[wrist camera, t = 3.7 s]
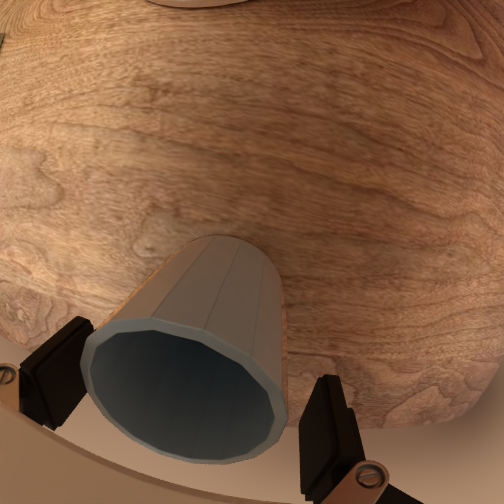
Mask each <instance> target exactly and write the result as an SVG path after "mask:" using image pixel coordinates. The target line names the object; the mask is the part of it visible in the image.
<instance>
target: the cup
mask: <svg viewBox="0 0 504 504" xmlns="http://www.w3.org/2000/svg"><path fill="white" fill-rule="evenodd" d="M80 367H81V371H82V375H83V379H84V383H85V387H86V390H87V392H88V394H89V395H90V397H91V398H92V400H93V401H94V403H95V404H96V406H97V407H98V409H99V410H100V411H101V413H102V414H103V416H105V418H106V419H107V420H108V421H110V422H111V423H112V424H113V425H114V426H115V427H117V428H118V429H119V430H120V431H121V432H122V433H124V434H125V435H126V436H127V437H129V438H130V439H132V440H133V441H135V442H137V443H139V444H141V445H143V446H145V447H146V448H149V449H150V450H153V451H154V452H156V453H159V454H161V455H164V456H167V457H171V458H174V459H178V460H182V461H186V462H190V463H195V464H220V465H225V464H231V463H235V462H239V461H244V460H248V459H252V458H255V457H257V456H258V455H260V454H262V453H263V452H264V451H266V450H267V449H269V448H270V447H272V446H273V445H274V444H276V443H277V442H278V441H279V439H280V436H281V434H282V432H283V430H284V428H285V425H286V423H287V421H288V364H287V332H286V307H285V297H284V290H283V284H282V280H281V277H280V275H279V272H278V270H277V269H276V267H275V265H274V264H273V262H272V261H271V260H270V259H269V258H268V256H267V255H265V254H264V253H263V252H262V251H261V250H260V249H258V248H257V247H256V246H254V245H252V244H250V243H249V242H247V241H244V240H242V239H239V238H235V237H231V236H224V235H212V236H205V237H201V238H198V239H195V240H193V241H191V242H189V243H187V244H186V245H184V246H183V247H182V248H180V249H179V250H178V251H177V252H175V253H174V254H173V255H171V256H170V257H169V258H168V259H167V260H166V261H165V262H164V263H163V264H162V265H161V266H160V267H158V268H157V269H156V270H155V271H154V272H153V273H152V274H151V275H150V276H149V277H148V278H147V279H146V280H145V281H144V282H143V283H142V284H141V285H139V286H138V287H137V288H136V289H135V290H134V291H133V292H132V293H131V294H130V295H129V296H128V297H127V298H126V299H125V300H124V301H123V302H122V303H121V304H120V305H119V306H118V307H117V308H116V309H115V310H114V311H113V312H112V313H111V314H110V315H109V316H108V317H107V318H106V319H105V320H104V321H103V322H102V323H101V324H100V325H99V326H98V327H97V328H96V329H95V330H94V331H93V332H92V333H91V334H90V335H89V336H88V337H87V339H86V342H85V346H84V349H83V353H82V357H81V361H80Z"/></svg>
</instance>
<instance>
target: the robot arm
mask: <svg viewBox="0 0 504 504" xmlns="http://www.w3.org/2000/svg"><path fill="white" fill-rule="evenodd" d="M148 1H151V2H154V3H157V4H161V5H167V6H173V7H194V8H196V7H209V6H220V5H226V4H232V3H238V2H243V1H247V0H148ZM93 331H94V328H93V325H92V324H91V322H90V320H88V319H86V318H83V317H80V316H76V317H75V318H74V319H72V320H71V321H70V322H69V323H68V324H66V325H65V326H64V327H63V328H62V329H60V330H59V331H58V332H57V333H56V334H54V335H53V336H52V337H51V338H50V339H48V340H47V341H46V342H45V343H44V344H42V345H41V346H40V347H39V348H38V349H37V350H36V351H34V352H33V353H32V354H31V355H30V356H29V357H28V358H26V359H25V360H24V361H23V362H22V363H21V364H20V367H21V368H20V369H19V370H18V369H17V367H15V366H14V365H12V364H9V363H3V364H0V504H290V503H279V502H268V501H259V500H252V499H244V498H238V497H232V496H226V495H221V494H215V493H211V492H206V491H201V490H197V489H193V488H188V487H185V486H181V485H177V484H174V483H170V482H167V481H163V480H160V479H157V478H154V477H151V476H148V475H145V474H142V473H139V472H137V471H134V470H131V469H129V468H126V467H123V466H121V465H118V464H116V463H114V462H111V461H109V460H106V459H104V458H102V457H100V456H97V455H95V454H93V453H91V452H89V451H87V450H85V449H83V448H81V447H79V446H77V445H75V444H73V443H71V442H69V441H67V440H65V439H64V438H62V437H60V436H58V435H56V434H54V433H53V432H51V431H50V430H48V429H46V428H44V427H43V425H45V426H46V427H48V428H50V429H51V430H53V431H55V429H56V428H57V427H60V426H62V425H63V423H64V422H65V421H66V419H67V418H68V417H69V415H70V414H71V413H72V411H73V410H74V409H75V407H76V406H77V405H78V403H79V402H80V401H81V399H82V398H83V397H84V396H85V395H86V393H87V390H86V387H85V383H84V379H83V375H82V371H81V367H80V361H81V357H82V353H83V349H84V346H85V342H86V339H87V337H88V336H89V335H90V334H91V333H92V332H93ZM299 452H300V484H301V485H300V488H301V494H305V501H313V504H423V503H422V502H420V501H418V500H416V499H415V498H413V497H411V496H409V495H407V494H406V493H404V492H402V491H401V490H399V489H397V488H395V487H394V486H392V485H390V484H389V483H388V482H389V473H388V471H387V469H386V468H385V467H384V466H383V465H382V464H380V463H378V462H375V461H371V460H366V458H365V454H364V450H363V446H362V442H361V438H360V433H359V429H358V425H357V421H356V417H355V413H354V411H353V409H352V408H347V405H346V401H345V397H344V393H343V389H342V385H341V381H340V377H339V376H338V375H329V374H324V375H323V377H319V378H318V379H317V382H316V384H315V386H314V389H313V391H312V394H311V396H310V398H309V401H308V403H307V405H306V408H305V410H304V412H303V415H302V417H301V419H300V422H299Z"/></svg>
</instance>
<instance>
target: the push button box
mask: <svg viewBox="0 0 504 504" xmlns="http://www.w3.org/2000/svg"><path fill="white" fill-rule="evenodd" d="M3 37H4V34H2V33H0V46H1V43H2V40H3Z"/></svg>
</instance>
